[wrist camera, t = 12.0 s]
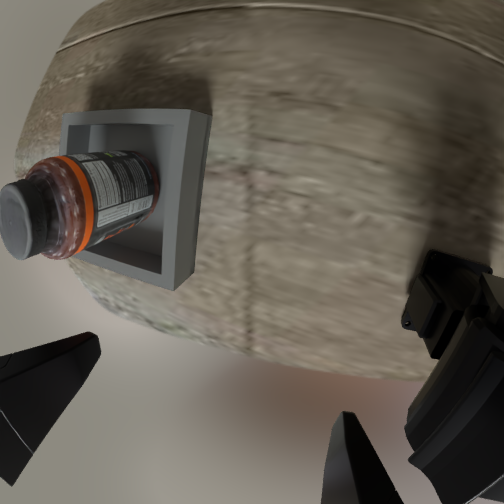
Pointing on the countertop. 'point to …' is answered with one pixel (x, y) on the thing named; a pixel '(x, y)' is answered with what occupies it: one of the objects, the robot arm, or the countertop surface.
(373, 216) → the countertop surface
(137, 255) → the tray
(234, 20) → the countertop surface
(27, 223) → the supplement bottle
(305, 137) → the countertop surface
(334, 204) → the countertop surface
